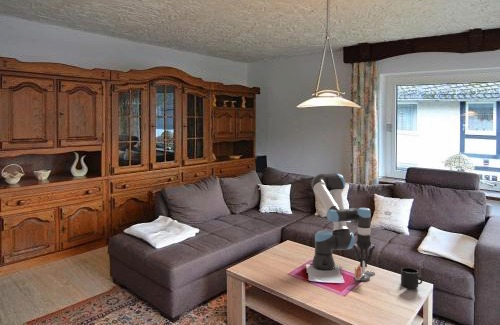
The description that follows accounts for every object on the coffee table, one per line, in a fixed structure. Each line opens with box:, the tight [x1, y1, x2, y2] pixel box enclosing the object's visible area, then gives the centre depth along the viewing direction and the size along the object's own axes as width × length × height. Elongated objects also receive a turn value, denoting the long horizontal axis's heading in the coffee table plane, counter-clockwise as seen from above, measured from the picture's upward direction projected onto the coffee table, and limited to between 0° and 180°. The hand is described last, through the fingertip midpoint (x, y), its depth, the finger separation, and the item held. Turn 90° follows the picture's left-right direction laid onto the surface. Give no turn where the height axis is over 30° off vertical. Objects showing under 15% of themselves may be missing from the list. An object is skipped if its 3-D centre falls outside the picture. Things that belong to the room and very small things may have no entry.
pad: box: [364, 270, 376, 277], centre depth 227 cm, size 11×11×1 cm
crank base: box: [354, 267, 371, 282], centre depth 217 cm, size 9×11×8 cm
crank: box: [356, 264, 366, 280], centre depth 215 cm, size 10×4×8 cm, turn 144°
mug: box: [400, 267, 423, 289], centre depth 206 cm, size 9×12×9 cm
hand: (363, 272), depth 211 cm, fingers closed
